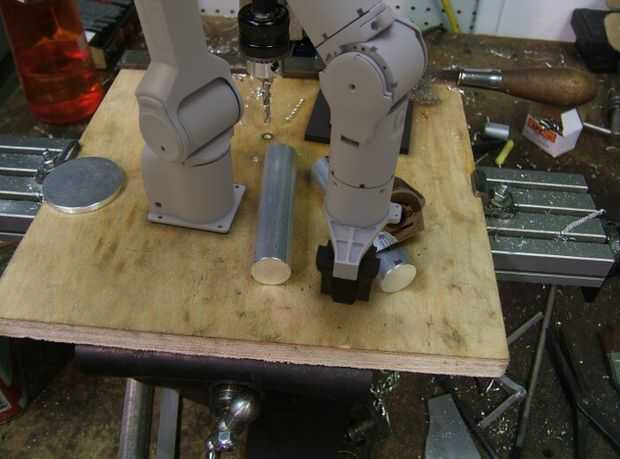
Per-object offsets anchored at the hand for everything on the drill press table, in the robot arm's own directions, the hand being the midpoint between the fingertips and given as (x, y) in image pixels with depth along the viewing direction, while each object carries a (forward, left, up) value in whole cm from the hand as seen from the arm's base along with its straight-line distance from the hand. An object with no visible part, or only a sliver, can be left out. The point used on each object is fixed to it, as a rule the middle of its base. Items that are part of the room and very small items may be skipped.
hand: (348, 271), depth 57 cm
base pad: (-2, +30, -2) cm, 30 cm away
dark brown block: (0, 0, -2) cm, 2 cm away
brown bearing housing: (+2, +11, -2) cm, 11 cm away
